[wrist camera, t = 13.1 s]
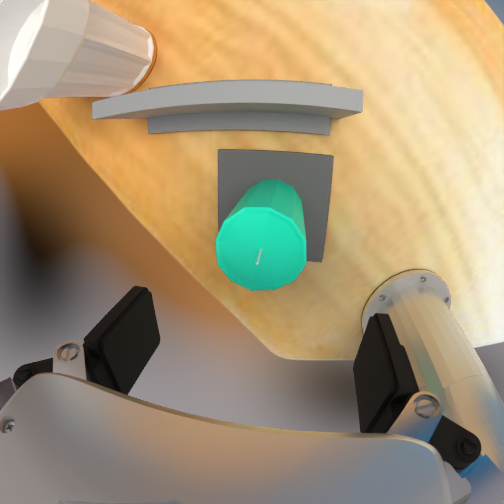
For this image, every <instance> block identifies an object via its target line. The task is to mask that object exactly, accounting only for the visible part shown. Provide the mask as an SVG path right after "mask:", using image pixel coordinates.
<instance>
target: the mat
mask: <svg viewBox="0 0 504 504" xmlns="http://www.w3.org/2000/svg"><path fill="white" fill-rule="evenodd" d="M333 158H334V156H332V155H322V154H312V153H300V152H286V151H268V150H237V149H219V150H218V228H219V231H220V229H221V227H222V224H223V222H224V221H225V219H226V218H227V217H228V215H229V214H230V213H231V211H232V210H233V209H234V207H235V206H236V205H237V204H238V202H239V201H240V200H241V198H242V197H243V196H244V194H245V193H246V192H247V191H248V189H249V188H251V187H252V186H254V185H255V184H257V183H259V182H260V181H262V180H277V179H278V180H280V181H282V182H284V183H286V184H288V185H290V186H292V187H293V188H294V189H295V191H296V192H297V194H298V196H299V197H300V199H301V201H302V209H303V217H304V225H305V234H306V261H314V262H322V259H323V252H324V244H325V237H326V229H327V221H328V212H329V203H330V193H331V182H332V171H333Z"/></svg>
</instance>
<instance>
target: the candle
mask: <svg viewBox="0 0 504 504" xmlns="http://www.w3.org/2000/svg"><path fill="white" fill-rule="evenodd" d="M216 253H217V264H218V266H219V267H220V268H221V269H222V270H223V272H224V273H225V274H226V275H227V276H228V278H229V279H230V280H231V281H232V282H234V283H236V284H238V285H241V286H243V287H245V288H247V289H249V290H251V291H258V290H275V289H277V288H280V287H282V286H284V285H286V284H289V283H291V282H293V281H295V279H296V278H297V277H298V275H299V274H300V272H301V271H302V270H303V268H304V267H305V265H306V234H305V225H304V217H303V209H302V201H301V199H300V197H299V196H298V194H297V192H296V191H295V189H294V188H293V187H292V186H290V185H288V184H286V183H284V182H282V181H280V180H278V179H277V180H262V181H260V182H259V183H257V184H255V185H254V186H252V187H251V188H249V189H248V191H247V192H246V193H245V194H244V196H243V197H242V198H241V200H240V201H239V202H238V204H237V205H236V206H235V207H234V209H233V210H232V211H231V213H230V214H229V215H228V217H227V218H226V219H225V221H224V222H223V224H222V227H221V229H220V231H219V234H218V236H217V238H216Z"/></svg>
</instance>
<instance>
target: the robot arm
mask: <svg viewBox="0 0 504 504" xmlns="http://www.w3.org/2000/svg"><path fill="white" fill-rule="evenodd" d="M450 305H451V295H450V291H449V288H448V287H447V285H446V283H445V282H444V281H443V280H442V278H441V277H440V276H438V275H437V274H435V273H433V272H431V271H428V270H410V271H406V272H403V273H400V274H398V275H396V276H394V277H392V278H391V279H389V280H388V281H386V282H385V283H383V284H382V285H381V286H380V287H379V288H378V289H377V290H376V291H375V292H374V293H373V295H372V296H371V297H370V299H369V300H368V302H367V304H366V306H365V309H364V311H363V315H362V329H363V334H364V336H363V339H362V342H361V345H360V348H359V350H358V353H357V356H356V359H355V362H354V367H353V371H354V378H355V385H356V394H357V402H358V411H359V421H360V431H361V433H328V432H309V431H293V430H283V429H274V428H265V427H258V426H251V425H243V424H238V423H232V422H227V421H221V420H216V419H211V418H207V417H202V416H198V415H193V414H189V413H185V412H181V411H178V410H174V409H170V408H166V407H163V406H160V405H156V404H153V403H149V402H146V401H143V400H140V399H137V398H134V397H131V396H128V393H129V392H130V390H131V388H132V387H133V385H134V383H135V382H136V380H137V379H138V377H139V375H140V374H141V372H142V370H143V369H144V367H145V366H146V364H147V362H148V361H149V359H150V358H151V356H152V355H153V353H154V352H155V350H156V348H157V347H158V345H159V343H160V335H159V330H158V325H157V320H156V316H155V310H154V305H153V300H152V294H151V292H149V291H148V289H147V288H146V287H140V286H134V287H133V288H132V289H131V290H130V291H129V292H128V293H127V294H126V295H125V296H124V297H123V298H122V299H121V300H120V301H119V302H118V303H117V304H116V305H115V306H114V307H113V308H112V309H111V310H110V311H109V312H108V313H107V314H106V315H105V316H104V318H103V319H102V320H101V321H100V322H99V323H98V324H97V325H96V326H95V327H94V328H93V329H92V330H91V331H90V332H89V334H88V335H87V336H86V337H85V338H84V344H83V345H82V344H81V343H79V342H77V341H67V342H64V343H62V344H60V345H59V346H58V347H57V348H56V349H55V351H54V355H53V356H54V357H53V358H50V359H46V360H42V361H38V362H33V363H29V364H25V365H23V366H21V367H20V368H18V369H17V370H16V372H15V374H14V377H13V379H11V377H9V378H8V379H6V380H3V381H1V382H0V504H504V404H503V402H502V401H501V399H500V396H499V394H498V392H497V390H496V389H495V386H494V384H493V382H492V380H491V378H490V377H489V375H488V373H487V371H486V369H485V367H484V365H483V364H482V362H481V360H480V358H479V356H478V355H477V353H476V351H475V350H474V348H473V346H472V344H471V343H470V341H469V339H468V338H467V336H466V334H465V333H464V331H463V330H462V328H461V326H460V325H459V323H458V322H457V320H456V319H455V317H454V316H453V314H452V313H451V311H450Z"/></svg>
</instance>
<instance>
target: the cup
mask: <svg viewBox="0 0 504 504" xmlns="http://www.w3.org/2000/svg"><path fill="white" fill-rule="evenodd" d="M156 52H157V47H156V42H155V38H154V36H153V35H152V34H151V33H150V32H149V31H147V30H146V29H144V28H143V27H140V26H136V25H134V24H132V23H130V22H129V21H127V20H125V19H123V18H122V17H120V16H118V15H116V14H114V13H112V12H111V11H109V10H107V9H105V8H103V7H101V6H99V5H97V4H95V3H93V2H91V1H89V0H1V1H0V110H5V109H10V108H18V107H24V106H27V105H29V104H32V103H35V102H38V101H39V100H40V99H42V98H57V97H115V96H120V95H124V94H128V93H130V92H132V91H134V90H135V89H137V88H138V87H139V86H140V85H141V84H142V83H143V81H144V80H145V79H146V78H147V77H148V75H149V73H150V72H151V70H152V68H153V66H154V64H155V60H156Z"/></svg>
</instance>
